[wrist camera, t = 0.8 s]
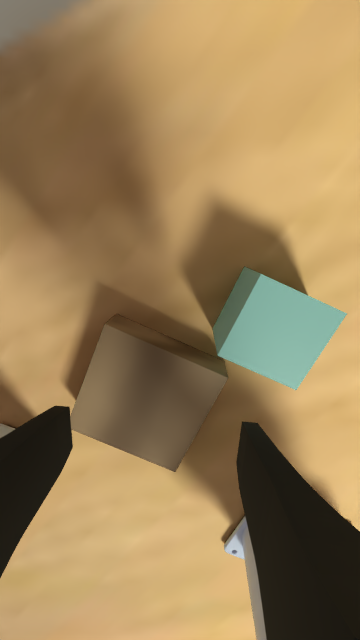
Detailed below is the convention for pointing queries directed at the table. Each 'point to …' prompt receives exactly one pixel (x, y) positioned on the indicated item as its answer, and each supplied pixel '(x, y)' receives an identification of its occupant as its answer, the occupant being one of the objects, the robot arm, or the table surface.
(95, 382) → the walnut slab
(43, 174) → the table surface
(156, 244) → the table surface
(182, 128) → the table surface
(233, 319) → the teal block
